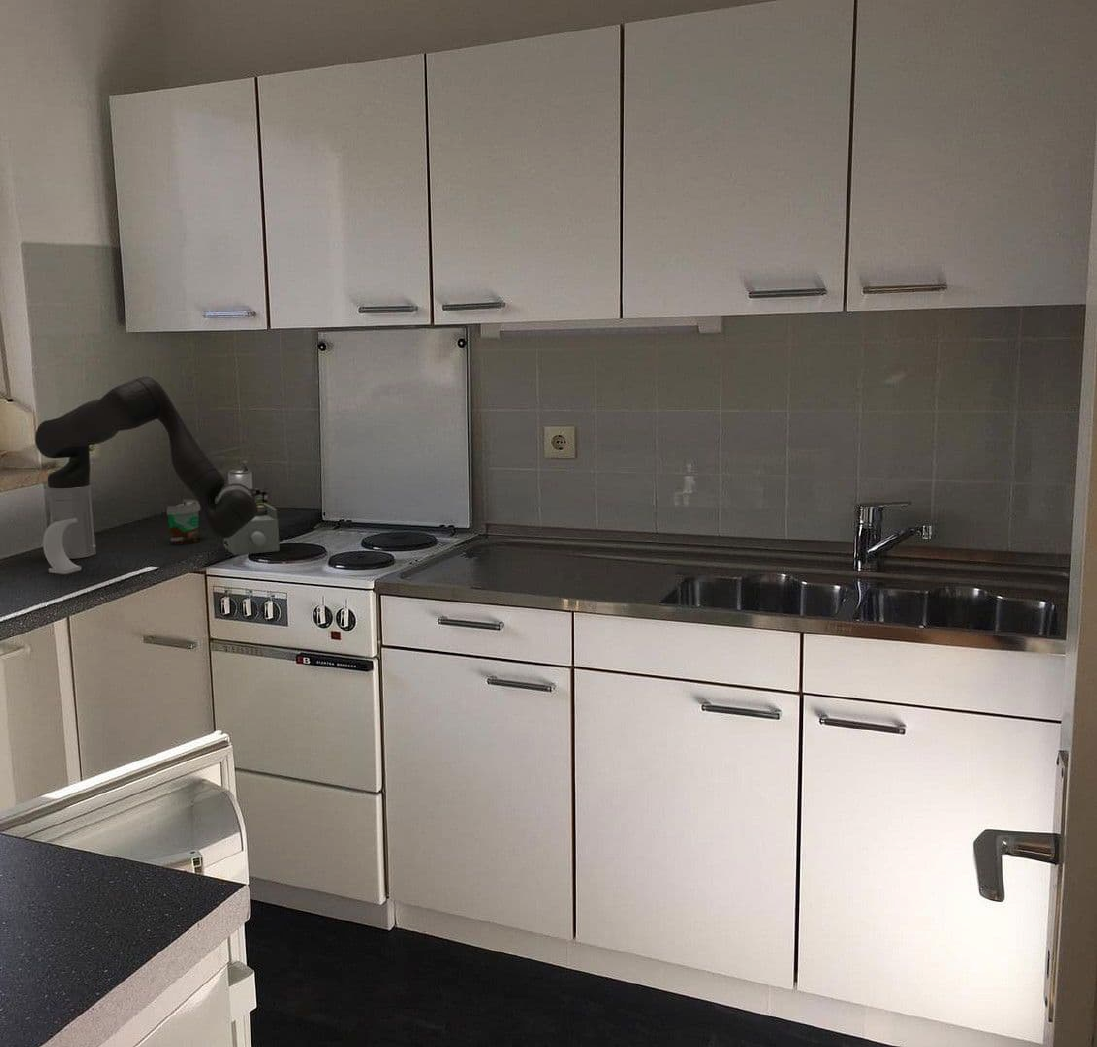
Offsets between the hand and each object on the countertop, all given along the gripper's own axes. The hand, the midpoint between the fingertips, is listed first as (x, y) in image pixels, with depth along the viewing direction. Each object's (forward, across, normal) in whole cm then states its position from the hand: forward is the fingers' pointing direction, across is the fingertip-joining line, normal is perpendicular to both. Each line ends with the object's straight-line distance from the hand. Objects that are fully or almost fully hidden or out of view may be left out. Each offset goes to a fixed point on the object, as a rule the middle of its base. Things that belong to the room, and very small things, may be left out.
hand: (238, 492), depth 251 cm
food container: (+27, +14, +16) cm, 34 cm away
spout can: (+11, 0, +8) cm, 13 cm away
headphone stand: (-3, +39, +16) cm, 42 cm away
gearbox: (+10, -2, +16) cm, 19 cm away
